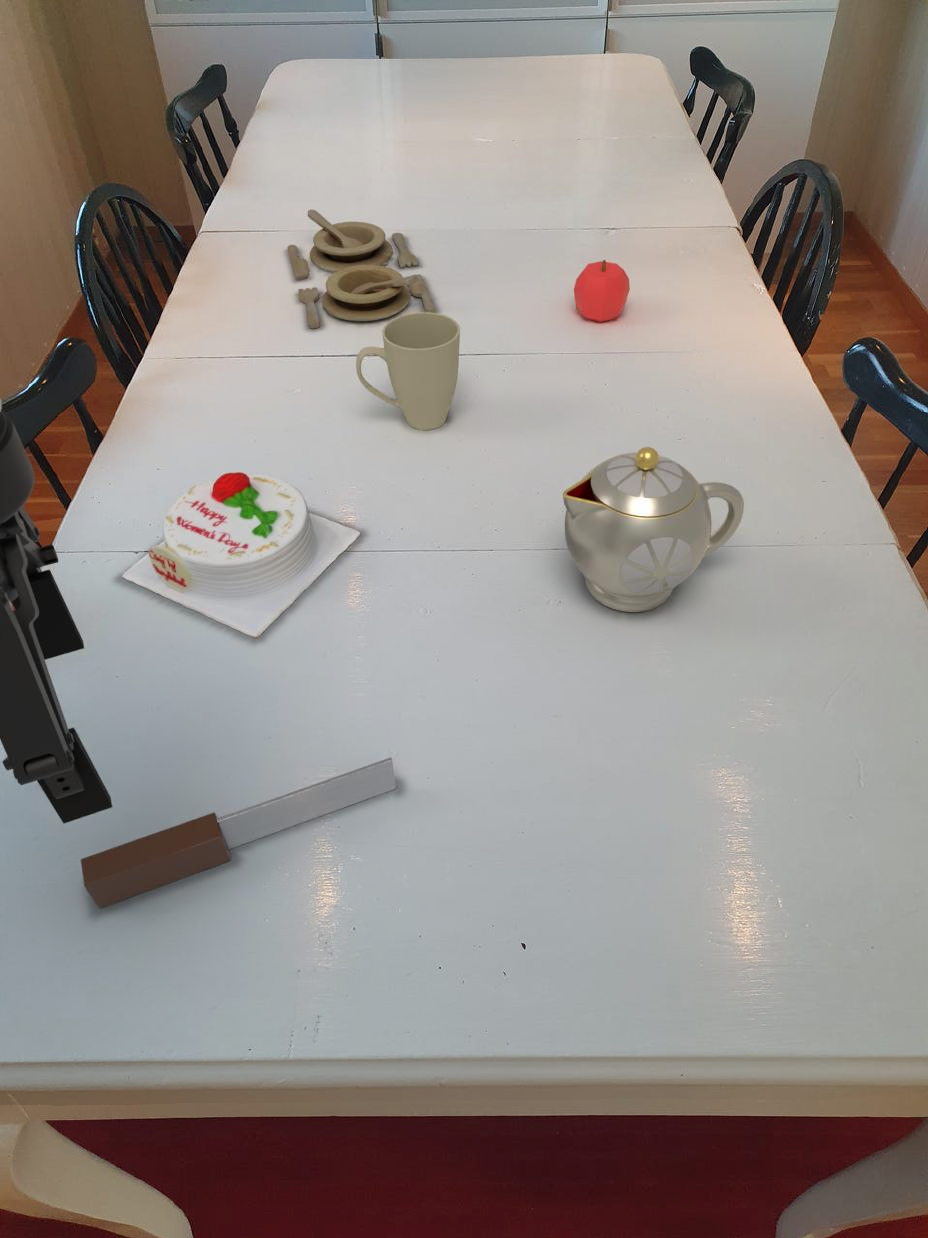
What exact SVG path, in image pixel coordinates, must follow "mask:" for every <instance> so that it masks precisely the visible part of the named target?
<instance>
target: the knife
mask: <svg viewBox="0 0 928 1238" xmlns="http://www.w3.org/2000/svg"><path fill="white" fill-rule="evenodd" d="M396 789H397V785H396V777H395V770H394V763H393V758H392V757H388V758H385V759H381V760H379V761H377V762H374V763H371V764H368V765H365V766H362V767H359V768H356V769H354V770H351V771H348V772H346V773H343V774H340V775H337V776H334V777H331V778H327V779H325V780H323V781H320V782H317V783H315V784H311V785H309V786H306V787H303V788H300V789H298V790H297V789H296V790H294V791H291V792H289V793H286V794H284V795H280V796H277V797H275V798H272V799H269V800H266V801H264V802H260V803H257V804H255V805H252V806H250V807H246V808H243V809H241V810H238V811H234V812H232V813H229V814H227V815H224V816H221V817H219V818H218V816H217V814H216V812H214V811H213V812H210V813H208V814H205V815H203V816H200V817H197V818H194V819H191V820H189V821H185V822H182V823H180V824H177V825H174V826H171V827H168V828H166V829H163V830H160V831H157V832H155V833H154V832H153V833H151V834H148V835H145V836H143V837H140V838H137V839H134V840H132V841H129V842H126V843H123V844H120V845H116V846H114V847H112V848H109V849H106V850H103V851H100V852H97V853H93V854H92V855H88V856H85V857H84V858H81V859H80V865H81V866H80V867H81V873H82V880H83V886H84V888H85V889H86V891H87V892H88V894H89V896H90V897H91V899H92V900H93V902H94V904H95V905H96V906H97V908H98V909H100V910H101V909H103V908H106V907H109V906H111V905H114V904H117V903H119V902H122V901H124V900H126V899H127V900H128V899H130V898H134V897H136V896H139V895H141V894H144V893H146V892H149V891H151V890H155V889H157V888H160V887H163V886H165V885H168V884H171V883H173V882H176V881H179V880H182V879H185V878H187V877H190V876H193V875H195V874H198V873H201V872H203V871H207V870H209V869H212V868H214V867H218V866H220V865H223V864H226V863H228V862H231V860H232V859H231V855H230V851H229V850H231V849H234V848H236V847H239V846H242V845H245V844H249V843H251V842H253V841H256V840H259V839H261V838H264V837H267V836H270V835H273V834H275V833H279V832H281V831H284V830H287V829H289V828H292V827H294V826H297V825H300V824H302V823H305V822H309V821H311V820H314V819H316V818H319V817H321V816H322V817H323V816H325V815H327V814H331V813H333V812H336V811H339V810H342V809H344V808H347V807H349V806H352V805H356V804H357V803H358V804H359V803H360V802H363V801H366V800H369V799H371V798H374V797H378V796H381V795H383V794H385V793H388V792H391V791H393V790H396Z"/></svg>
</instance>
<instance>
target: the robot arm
mask: <svg viewBox="0 0 928 1238" xmlns="http://www.w3.org/2000/svg"><path fill="white" fill-rule="evenodd" d="M2 405H3V404H2V399H1V397H0V743H1V744H2V747H3V749H4V753H5V754H6V757H5V758H4V759H3V760H2V765H3V767H4V768H5V770H6V771H11V770H12V773H13V777H14V778H15V780H17V783H18V784H19V785H21V786H24V785H27V784H31V783H33V782H37V783H38V785H39V786H40V788H41V790H42V791H43V793H44V794H45V796H46V798H47V800H48V801H49V803H50V804H51V806H52V807H53V809H54V811H55V812H56V814H57V816H58V818H59V819H60V821H61V822H62V824H63V825H64V824H67V823H71V822H73V821H76V820H79V819H82V818H85V817H89V816H91V815H94V814H97V813H99V812H102V811H106V810H108V809H112V808H113V803H112V797H111V795H110V793H109V791H108V789H107V787H106V786H105V784H104V782H103V780H102V778H101V776H100V774H99V772H98V771H97V769H96V767H95V764H94V762H93V761H92V759H91V757H90V755H89V753H88V752H87V751H88V750H87V749H86V747H85V746H84V744H83V742H82V740H81V738H80V736H79V734H78V733H77V731H76V729H75V727H70V728H69V726H68V724H67V721H66V718H65V716H64V712H63V709H62V706H61V704H60V700H59V697H58V695H57V692H56V689H55V686H54V683H53V680H52V677H51V674H50V671H49V668H48V666H47V662H46V660H49V659H53V658H55V657H59V656H63V655H67V654H70V653H73V652H77V651H80V650H84V649H85V643H84V640H83V637H82V635H81V633H80V631H79V629H78V627H77V625H76V622H75V621H74V619H73V616H72V614H71V612H70V609H69V608H68V606H67V603H66V601H65V599H64V597H63V595H62V593H61V592H62V591H61V590H60V589H59V586H58V584H57V582H56V579H55V578H54V575H53V573H52V572H51V571H52V570H51V569H49V568H48V569H46V570H42V567H46V566H50V565H54V564H57V563H59V557H58V554H57V551H56V547H55V546H54V545H53V544H52V543H51V544H48V545H47V544H46V545H43V546H39V545H38V544H36V543H37V542H39V541H40V539H41V538H40V535H41V532H40V530H39V527H37V526H36V524H35V523H34V521H33V520H32V518H31V516H30V515H29V513H28V512H27V510H26V508H25V507H24V505H25V504H26V503H27V501H28V500H29V498H30V497H31V495H32V492H33V489H34V485H35V472H34V468H33V466H32V463H31V461H30V459H29V456H28V454H27V452H26V450H25V447H24V445H23V442H22V440H21V437H20V436H19V433H18V431H17V429H16V427H15V424H14V422H13V420H12V418H11V416H10V415H9V414H8V413H7V411H6V410H4V409H2V408H3V406H2Z"/></svg>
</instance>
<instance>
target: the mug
mask: <svg viewBox="0 0 928 1238" xmlns="http://www.w3.org/2000/svg"><path fill="white" fill-rule="evenodd" d="M381 334H382V340H383V341H382V342H383V347H378V346H366V347H363V348H362V349H360V350H359V352H358V354H357V356H356V361H355V368H356V374H357V377H358V380H359V382H360V383H361V385H362V387H364V388H365V389H366V390H367V391H368V392H370V394H372V395H374V396H375V397H378V398H379V399H380V400H382V401H384V402H385V403H387V404H389V405H390V406H393V407H398V408H400V409H401V411H402V413H403V415H404V419H405V420H406V422H407V424H408V426H410V427H411V428H412V429H415V430H420V431H432V430H435V429H438V428H440V427H442V426H443V425H444V424H445V423H446V420H447V417H448V414H449V411H450V407H451V404H452V401H453V398H454V394H455V391H456V388H457V383H458V377H459V376H458V375H459V366H460V365H459V364H460V363H459V362H460V343H461V342H460V340H461V339H460V338H461V337H460V336H461V327H460V325H459V323H458V322H457V321H456V320H455V319H453V318H452V317H450V316H448V315H445V314H443V313H437V312H434V313H431V312H426V311H418V312H410V313H406V314H401V315H399V316H396V317H394V318H392V319H390V320H389V321H388V322H387V323H386V324H384V326H383V328H382V333H381ZM368 355H372V356H376V357H379V358H380V359H382V360H383V361H384V362H385V364H386V365H387V371H388V376H389V379H390V380H389V381H390V384H391V387H392V391H393V393H394V396H395V398H392V397H390V396H388V395H387V394H385V393H383V392H382V391H380V390H378V388H376V387H375V386H373V385H372V384H370V383H369V382H368V381H367V380H366V379H365V378H364V375H363V373H362V362H363V360H364V358H365V357H366V356H368Z"/></svg>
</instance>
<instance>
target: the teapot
mask: <svg viewBox="0 0 928 1238" xmlns="http://www.w3.org/2000/svg"><path fill="white" fill-rule="evenodd" d="M711 498H719V499H721V500H723V501H725V503H726V504H727V508H728V510H727V514H726V517H725V518H724V521H723V522H722V524H721V525H720V527H719V528H717V530H715V531H714V533H712V512H711V507H710V503H709V499H711ZM562 499H563V504H564V506H565V508H566V510H565V516H564V536H565V543H566V546H567V550H568V552H569V554H570V557H571V560H572V561H573V563H574V564H575V566H576V568H577V569H578V570H579V571H580V573H582V575H583V576H584V582H585V586H586V588H587V590H588V592H589V593H590V594H591V596H592V597H593V598H594V599H595V600H596V601H598V602H599V603H600V604H602V605H604V606H605V607H608V608H609V609H612V610H616V611H621V612H626V613H640V612H646V611H650V610H653V609H655V608H657V607H659V606H660V605H662V604H663V603H664V602H666V601H667V600H668V599H669V597H670V596H671V595H672V592H673V590H674V588H676V587H677V586H679V585H680V584H682V583H683V582H684V581H685V580H687V579H688V578H689V577H690V576H691V575H692V574H693V573H694V572H695V570H697V568H698V566H699V565H700V564H701V562H702V560H703V559H704V557H705V556H707V555H710V554H712V553H713V552H715V551H717V550H718V549H720V548H721V547H723V546H724V545H725V544H726V543H727V542H728V541H729V540H730V539H731V538H732V537H733V536H734V534H735V533H736V532H737V530H738V528H739V526H740V524H741V523H742V519H743V515H744V510H745V504H744V503H745V502H744V497H743V495H742V494H741V492H740V491H739V490H738V489H737V487H734V486H733V485H730V484H727V483H724V482H720V481H719V482H718V481H708V482H702V483H700V482H699V481H698V480H697V478H696V477H695V476H694V475H693V474H692V473H691V472H690V471H689V470H688V469H687V468H685V467H684V466H682V465H681V464H680V463H678V462H677V461H675V460H673V459H671V458H669V457H666V456H664V455H660V454H659V453H658V452H657V450H656V449H655V448H653V447H651V446H644V447H641V448H640V449H639V450H637V452H627V453H623V454H619V455H615V456H613V457H610V458H608V459H606V460H604V461H601V462H600V463H599V464H597V465H596V466H594V467H593V468H592V469H591V470H589V471H588V472H587V473H586V474H585V475H584V476H583V478H582V479H580V480H579V481H578V482H576V483H575V484H573V485H572V486H571V485H570V487H568V488H566V489H565V490H564V491H563V492H562Z"/></svg>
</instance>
